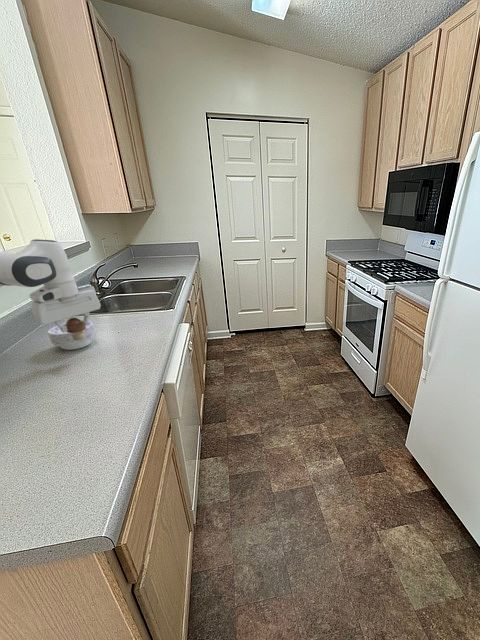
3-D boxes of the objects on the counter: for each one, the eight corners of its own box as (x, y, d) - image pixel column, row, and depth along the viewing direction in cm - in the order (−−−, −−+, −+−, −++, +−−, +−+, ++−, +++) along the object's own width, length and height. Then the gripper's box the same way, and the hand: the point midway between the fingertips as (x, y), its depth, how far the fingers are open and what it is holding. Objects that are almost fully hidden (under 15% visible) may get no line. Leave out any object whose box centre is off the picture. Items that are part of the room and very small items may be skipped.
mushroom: (75, 343, 116) (67, 322, 112) (66, 339, 118) (58, 319, 115) (92, 337, 120) (85, 316, 117) (83, 334, 123) (76, 314, 119)
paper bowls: (61, 340, 136) (54, 322, 132) (102, 335, 140) (96, 317, 136) (48, 356, 123) (40, 336, 119) (94, 350, 127) (87, 330, 123)
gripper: (87, 282, 120) (99, 318, 127) (23, 296, 105) (39, 336, 111) (97, 283, 118) (108, 320, 124) (32, 298, 102) (49, 339, 108)
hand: (75, 328), depth 117 cm, fingers closed on mushroom, 6 cm apart
